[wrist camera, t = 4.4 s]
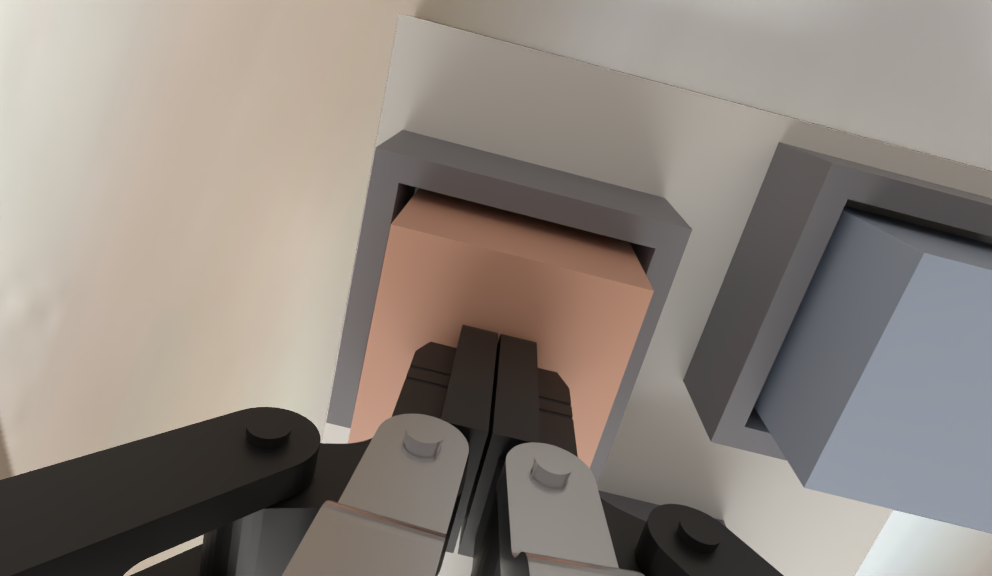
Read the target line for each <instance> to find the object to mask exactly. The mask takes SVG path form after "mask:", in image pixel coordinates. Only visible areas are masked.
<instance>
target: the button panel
mask: <svg viewBox="0 0 992 576" xmlns="http://www.w3.org/2000/svg"><path fill="white" fill-rule="evenodd" d="M419 188H421V189H425V190H429V191H433V192H437V193H441V194H444V195H448V196H452V197H456V198H460V199H464V200H468V201H472V202H476V203H479V204H483V205H487V206H491V207H495V208H499V209H503V210H507V211H511V212H515V213H518V214H522V215H526V216H530V217H534V218H538V219H542V220H546V221H550V222H553V223H557V224H561V225H565V226H569V227H573V228H577V229H581V230H585V231H589V232H592V233H596V234H600V235H604V236H608V237H612V238H616V239H620V240H624V241H627V242H630V244H631V246H632V248H633V250H634V252H635V254H636V256H637V258H638V260H639V262H640V264H641V266H642V268H643V270H644V272H645V274H646V276H647V278H648V280H649V282H650V284H651V286H652V288H653V290H654V292H653V295H652V298H651V301H650V303H649V306H648V309H647V312H646V314H645V317H644V320H643V323H642V325H641V328H640V331H639V334H638V336H637V339H636V342H635V345H634V347H633V350H632V353H631V356H630V359H629V361H628V364H627V367H626V370H625V372H624V375H623V378H622V381H621V383H620V386H619V389H618V392H617V394H616V397H615V400H614V403H613V405H612V408H611V411H610V414H609V416H608V419H607V422H606V425H605V427H604V430H603V433H602V436H601V439H600V441H599V444H598V447H597V450H596V452H595V455H594V458H593V461H592V463H591V466H590V470H591V471H592V473H593V475H594V477H595V480H596V484H597V488H598V492H599V495H600V497H601V498H602V499H603V500H605V501H606V502H608V503H609V504H611V505H612V506H614V507H616V508H618V509H620V510H622V511H624V512H627V513H629V514H631V515H633V516H635V517H637V518H639V519H642V520H644V521H647V519H648V516H649V514H650V512H651V511H652V510H653V509H654V508H656V507H658V506H660V505H664V504H680V505H685V506H688V507H692V508H695V509H697V510H700V511H702V512H704V513H706V514H708V515H710V516H711V517H713V518H715V519H716V520H718V521H719V522H720V523H722V524H723V525H724V526H726V527H727V528H728V529H729V530H730V531H731V532H733V533H734V534H735V535H736V536H737V537H739V538H740V539H741V540H742V541H743V542H744V543H746V544H747V545H748V546H749V547H750V548H752V549H753V550H754V551H755V552H756V553H758V554H759V555H760V556H761V557H762V558H763V559H765V560H766V561H767V562H768V563H769V564H771V565H772V566H773V567H774V568H775V569H777V570H778V571H779V572H780V573H781V574H782V575H784V576H855V574H856V573H857V571H858V569H859V567H860V566H861V564H862V562H863V561H864V559H865V557H866V555H867V554H868V552H869V550H870V549H871V547H872V545H873V543H874V542H875V540H876V538H877V536H878V535H879V533H880V531H881V530H882V528H883V526H884V524H885V523H886V521H887V519H888V518H889V516H890V514H891V512H892V511H893V509H889V508H885V507H881V506H877V505H873V504H868V503H864V502H860V501H856V500H852V499H848V498H844V497H840V496H836V495H832V494H827V493H823V492H819V491H815V490H811V489H807V488H804V487H803V485H802V484H801V482H800V481H799V479H798V477H797V476H796V474H795V472H794V471H793V469H792V468H791V466H790V464H789V463H788V461H787V460H786V458H785V456H784V455H783V453H782V451H781V450H780V448H779V447H778V445H777V443H776V442H775V440H774V438H773V437H772V435H771V434H770V432H769V430H768V429H767V427H766V426H765V424H764V422H763V421H762V419H761V417H760V416H759V414H758V413H757V411H756V409H755V408H754V405H755V403H756V400H757V398H758V396H759V394H760V392H761V389H762V387H763V385H764V383H765V381H766V378H767V376H768V374H769V372H770V370H771V367H772V365H773V363H774V361H775V359H776V356H777V354H778V352H779V350H780V347H781V345H782V343H783V341H784V339H785V336H786V334H787V332H788V330H789V328H790V325H791V323H792V321H793V319H794V317H795V314H796V312H797V310H798V308H799V306H800V303H801V301H802V299H803V297H804V295H805V292H806V290H807V288H808V286H809V284H810V281H811V279H812V277H813V275H814V273H815V270H816V268H817V266H818V264H819V261H820V259H821V257H822V255H823V253H824V250H825V248H826V246H827V244H828V242H829V239H830V237H831V235H832V233H833V231H834V228H835V226H836V224H837V222H838V220H839V217H840V215H841V213H842V211H843V209H844V206H848V207H852V208H856V209H860V210H864V211H867V212H871V213H875V214H879V215H883V216H886V217H890V218H894V219H898V220H902V221H906V222H909V223H913V224H917V225H921V226H925V227H928V228H932V229H936V230H940V231H944V232H947V233H951V234H955V235H959V236H963V237H966V238H970V239H974V240H978V241H982V242H986V243H989V244H992V171H988V170H985V169H981V168H977V167H973V166H970V165H966V164H962V163H958V162H955V161H951V160H947V159H943V158H940V157H936V156H932V155H928V154H925V153H921V152H917V151H913V150H910V149H906V148H902V147H899V146H895V145H891V144H887V143H884V142H880V141H876V140H872V139H869V138H865V137H861V136H857V135H854V134H850V133H846V132H842V131H839V130H835V129H831V128H827V127H824V126H820V125H816V124H812V123H809V122H805V121H801V120H798V119H794V118H790V117H786V116H783V115H779V114H775V113H771V112H768V111H764V110H760V109H756V108H753V107H749V106H745V105H741V104H738V103H734V102H730V101H726V100H723V99H719V98H715V97H711V96H708V95H704V94H700V93H697V92H693V91H689V90H685V89H682V88H678V87H674V86H670V85H667V84H663V83H659V82H655V81H652V80H648V79H644V78H640V77H637V76H633V75H629V74H625V73H622V72H618V71H614V70H610V69H607V68H603V67H599V66H595V65H592V64H588V63H584V62H581V61H577V60H573V59H569V58H566V57H562V56H558V55H554V54H551V53H547V52H543V51H539V50H536V49H532V48H528V47H524V46H521V45H517V44H513V43H509V42H506V41H502V40H498V39H494V38H491V37H487V36H483V35H480V34H476V33H472V32H468V31H465V30H461V29H457V28H453V27H450V26H446V25H442V24H438V23H435V22H431V21H427V20H423V19H420V18H416V17H412V16H408V15H404V14H400V13H399V16H398V22H397V27H396V33H395V38H394V44H393V50H392V55H391V61H390V66H389V72H388V77H387V83H386V88H385V94H384V100H383V105H382V111H381V116H380V122H379V127H378V133H377V138H376V144H375V150H374V155H373V161H372V166H371V172H370V177H369V183H368V188H367V194H366V200H365V205H364V211H363V216H362V222H361V227H360V233H359V238H358V244H357V250H356V255H355V261H354V266H353V272H352V277H351V283H350V288H349V294H348V300H347V305H346V311H345V316H344V322H343V327H342V333H341V338H340V344H339V350H338V355H337V361H336V366H335V372H334V377H333V383H332V388H331V394H330V400H329V405H328V411H327V416H326V422H325V427H324V433H323V438H322V443H331V444H346V443H348V440H349V434H350V429H351V424H352V419H353V414H354V409H355V404H356V399H357V394H358V389H359V384H360V379H361V374H362V369H363V363H364V358H365V353H366V348H367V343H368V338H369V333H370V328H371V323H372V318H373V313H374V308H375V303H376V298H377V293H378V287H379V282H380V277H381V272H382V267H383V262H384V257H385V252H386V247H387V242H388V237H389V232H390V227H391V224H392V222H393V221H394V220H395V218H396V217H397V216H398V215H399V213H400V212H401V211H402V209H403V208H404V207H405V206H406V204H407V203H408V202H409V201H410V199H411V198H412V197H413V195H414V194H415V193H416V192H417V190H418V189H419ZM460 533H461V529H460V532H459V536H458V539H457V543H456V546H455V550H454V553H450V552H445V556H444V559H443V563H442V567H441V570H440V572H439V574H438V576H470V574H471V571H472V564H473V557H468V556H464V555H460V554H458V548H459V540H460Z"/></svg>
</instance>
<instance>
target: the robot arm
mask: <svg viewBox="0 0 992 576" xmlns="http://www.w3.org/2000/svg"><path fill="white" fill-rule="evenodd" d="M497 340H498V343H497ZM572 417H573V414H572V407H571V398H570V390H569V387H568V386H567V385H566V383H565V382H564V381H563V379H562V378H561V377H560V375H559V374H558V373H557V372H554V371H549V370H545V369H541V368H538V363H537V343H536V342H533V341H529V340H525V339H521V338H517V337H512V336H508V335H504V334H500V337H499V339H498V333H496V332H492V331H488V330H484V329H480V328H475V327H471V326H467V325H462V328H461V332H460V336H459V340H458V344H457V348H455V347H451V346H447V345H443V344H439V343H434V342H429V343H427V344H426V345H424V346H423V347H421V348H419V349H418V350H416V351H415V354H414V356H413V359H412V362H411V365H410V367H409V370H408V373H407V376H406V379H405V381H404V384H403V387H402V389H401V392H400V395H399V398H398V400H397V403H396V406H395V409H394V411H393V414H392V417H391V418H389V419H387V420H385V421H384V422H383V423H381V425H380V426H379V427H378V429H377V431H376V433H375V434H374V436H373V438H371V439H368V440H365V441H361V442H356V443H346V444H331V443H320V434H319V431H318V429H317V428H316V426H315V425H314V424H313V423H312V422H311V421H310V420H308V419H307V418H306V417H304V416H302V415H300V414H298V413H295V412H293V411H289V410H285V409H280V408H272V407H257V408H249V409H245V410H241V411H237V412H234V413H230V414H227V415H223V416H220V417H216V418H213V419H210V420H206V421H203V422H199V423H196V424H192V425H189V426H185V427H182V428H179V429H175V430H172V431H168V432H165V433H161V434H158V435H154V436H151V437H148V438H144V439H141V440H137V441H134V442H130V443H127V444H123V445H120V446H117V447H113V448H110V449H106V450H103V451H99V452H96V453H92V454H89V455H86V456H82V457H79V458H75V459H72V460H68V461H65V462H61V463H58V464H55V465H51V466H48V467H44V468H41V469H37V470H34V471H30V472H27V473H24V474H20V475H17V476H13V477H10V478H6V479H3V480H0V576H123V575H124V574H125V573H126V572H127V571H128V570H129V569H131V568H132V567H133V566H135V565H136V564H138V563H139V562H141V561H143V560H145V559H147V558H149V557H151V556H154V555H156V554H158V553H161V552H163V551H165V550H168V549H170V548H172V547H175V546H177V545H180V544H182V543H184V542H187V541H189V540H191V539H194V538H196V537H198V536H201V535H203V534H204V538H203V544H201V545H199V546H197V547H194V548H192V549H190V550H187V551H185V552H183V553H181V554H178V555H176V556H174V557H171V558H169V559H167V560H165V561H162V562H160V563H158V564H155V565H153V566H151V567H149V568H146V569H144V570H142V571H139V572H137V573H135V574H133V575H130V576H438V574H439V572H440V570H441V567H442V563H443V559H444V556H445V552H450V553H454V550H455V546H456V543H457V539H458V536H459V532H460V529H461V533H460V540H459V548H458V554H460V555H464V556H468V557H473V564H472V571H471V574H470V576H784V575H782V574H781V573H780V572H779V571H778V570H777V569H775V568H774V567H773V566H772V565H771V564H769V563H768V562H767V561H766V560H765V559H763V558H762V557H761V556H760V555H759V554H758V553H756V552H755V551H754V550H753V549H752V548H750V547H749V546H748V545H747V544H746V543H744V542H743V541H742V540H741V539H740V538H739V537H737V536H736V535H735V534H734V533H733V532H731V531H730V530H729V529H728V528H727V527H726V526H724V525H723V524H722V523H720V522H719V521H718V520H716V519H715V518H713V517H711V516H710V515H708V514H706V513H704V512H702V511H700V510H697V509H695V508H692V507H688V506H685V505H680V504H664V505H660V506H658V507H656V508H654V509H653V510H652V511H651V512H650V514H649V516H648V519H647V521H644V520H642V519H639V518H637V517H635V516H633V515H631V514H629V513H627V512H624V511H622V510H620V509H618V508H616V507H614V506H612V505H611V504H609V503H608V502H606V501H605V500H603V499H602V498H601V497H600V495H599V492H598V488H597V484H596V480H595V477H594V475H593V473H592V471H591V470H590V469H589V467H588V466H587V465H586V464H585V463H584V462H583V461H582V460H581V459H579V458H578V455H577V447H576V439H575V431H574V422H573V419H572Z"/></svg>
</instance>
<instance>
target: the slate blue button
mask: <svg viewBox="0 0 992 576" xmlns="http://www.w3.org/2000/svg"><path fill="white" fill-rule="evenodd" d="M754 408H755V409H756V411H757V413H758V414H759V416H760V417H761V419H762V421H763V422H764V424H765V426H766V427H767V429H768V430H769V432H770V434H771V435H772V437H773V438H774V440H775V442H776V443H777V445H778V447H779V448H780V450H781V451H782V453H783V455H784V456H785V458H786V460H787V461H788V463H789V464H790V466H791V468H792V469H793V471H794V472H795V474H796V476H797V477H798V479H799V481H800V482H801V484H802V485H803V487H804V488H807V489H811V490H815V491H819V492H823V493H827V494H832V495H836V496H840V497H844V498H848V499H852V500H856V501H860V502H864V503H868V504H873V505H877V506H881V507H885V508H889V509H893V510H897V511H901V512H905V513H909V514H914V515H918V516H922V517H926V518H930V519H934V520H938V521H942V522H946V523H950V524H955V525H959V526H963V527H967V528H971V529H975V530H979V531H983V532H987V533H991V534H992V244H989V243H986V242H982V241H978V240H974V239H970V238H966V237H963V236H959V235H955V234H951V233H947V232H944V231H940V230H936V229H932V228H928V227H925V226H921V225H917V224H913V223H909V222H906V221H902V220H898V219H894V218H890V217H886V216H883V215H879V214H875V213H871V212H867V211H864V210H860V209H856V208H852V207H848V206H844V209H843V211H842V213H841V215H840V217H839V220H838V222H837V224H836V226H835V228H834V231H833V233H832V235H831V237H830V239H829V242H828V244H827V246H826V248H825V250H824V253H823V255H822V257H821V259H820V261H819V264H818V266H817V268H816V270H815V273H814V275H813V277H812V279H811V281H810V284H809V286H808V288H807V290H806V292H805V295H804V297H803V299H802V301H801V303H800V306H799V308H798V310H797V312H796V314H795V317H794V319H793V321H792V323H791V325H790V328H789V330H788V332H787V334H786V336H785V339H784V341H783V343H782V345H781V347H780V350H779V352H778V354H777V356H776V359H775V361H774V363H773V365H772V367H771V370H770V372H769V374H768V376H767V378H766V381H765V383H764V385H763V387H762V389H761V392H760V394H759V396H758V398H757V400H756V403H755V405H754Z"/></svg>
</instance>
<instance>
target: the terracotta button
mask: <svg viewBox="0 0 992 576" xmlns="http://www.w3.org/2000/svg"><path fill="white" fill-rule="evenodd" d="M653 292H654V290H653V288H652V286H651V284H650V282H649V280H648V278H647V276H646V274H645V272H644V270H643V268H642V266H641V264H640V262H639V260H638V258H637V256H636V254H635V252H634V250H633V248H632V246H631V244H630V242H627V241H624V240H620V239H616V238H612V237H608V236H604V235H600V234H596V233H592V232H589V231H585V230H581V229H577V228H573V227H569V226H565V225H561V224H557V223H553V222H550V221H546V220H542V219H538V218H534V217H530V216H526V215H522V214H518V213H515V212H511V211H507V210H503V209H499V208H495V207H491V206H487V205H483V204H479V203H476V202H472V201H468V200H464V199H460V198H456V197H452V196H448V195H444V194H441V193H437V192H433V191H429V190H425V189H421V188H419V189H418V190H417V192H416V193H415V194H414V195H413V197H412V198H411V199H410V201H409V202H408V203H407V204H406V206H405V207H404V208H403V209H402V211H401V212H400V213H399V215H398V216H397V217H396V218H395V220H394V221H393V222H392V224H391V227H390V232H389V237H388V242H387V247H386V252H385V257H384V262H383V267H382V272H381V277H380V282H379V287H378V293H377V298H376V303H375V308H374V313H373V318H372V323H371V328H370V333H369V338H368V343H367V348H366V353H365V358H364V363H363V369H362V374H361V379H360V384H359V389H358V394H357V399H356V404H355V409H354V414H353V419H352V424H351V429H350V434H349V440H348V443H356V442H361V441H365V440H368V439H371V438H373V436H374V434H375V433H376V431H377V429H378V427H379V426H380V425H381V423H383V422H384V421H385V420H387V419H389V418H391V417H392V414H393V411H394V409H395V406H396V403H397V400H398V398H399V395H400V392H401V389H402V387H403V384H404V381H405V379H406V376H407V373H408V370H409V367H410V365H411V362H412V359H413V356H414V354H415V351H416V350H418V349H419V348H421V347H423V346H424V345H426V344H427V343H429V342H434V343H439V344H443V345H447V346H451V347H455V348H457V344H458V340H459V336H460V332H461V328H462V325H467V326H471V327H475V328H480V329H484V330H488V331H492V332H496V333H498V339H499V337H500V334H504V335H508V336H512V337H517V338H521V339H525V340H529V341H533V342H536V343H537V363H538V368H541V369H545V370H549V371H554V372H557V373H558V374H559V375H560V377H561V378H562V379H563V381H564V382H565V383H566V385H567V386H568V387H569V390H570V398H571V407H572V414H573V417H572V419H573V422H574V431H575V439H576V447H577V455H578V458H579V459H581V460H582V461H583V462H584V463H585V464H586V465H587V466H588V467H589V469H590V466H591V463H592V461H593V458H594V455H595V452H596V450H597V447H598V444H599V441H600V439H601V436H602V433H603V430H604V427H605V425H606V422H607V419H608V416H609V414H610V411H611V408H612V405H613V403H614V400H615V397H616V394H617V392H618V389H619V386H620V383H621V381H622V378H623V375H624V372H625V370H626V367H627V364H628V361H629V359H630V356H631V353H632V350H633V347H634V345H635V342H636V339H637V336H638V334H639V331H640V328H641V325H642V323H643V320H644V317H645V314H646V312H647V309H648V306H649V303H650V301H651V298H652V295H653ZM497 343H498V340H497Z"/></svg>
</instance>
